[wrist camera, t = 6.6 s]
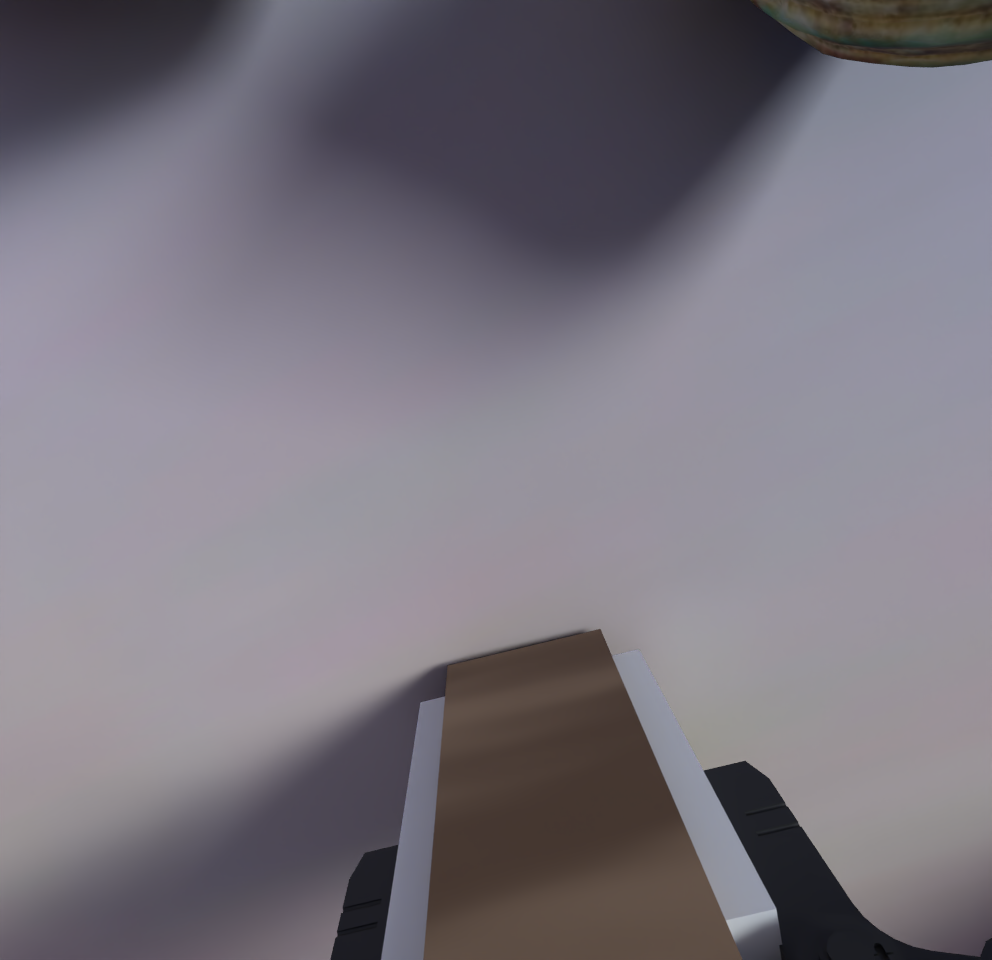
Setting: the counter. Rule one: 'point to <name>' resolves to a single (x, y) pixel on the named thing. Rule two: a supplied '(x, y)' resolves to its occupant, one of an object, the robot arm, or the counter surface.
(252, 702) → the counter surface
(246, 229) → the counter surface
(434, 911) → the wooden stand
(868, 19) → the seashell
